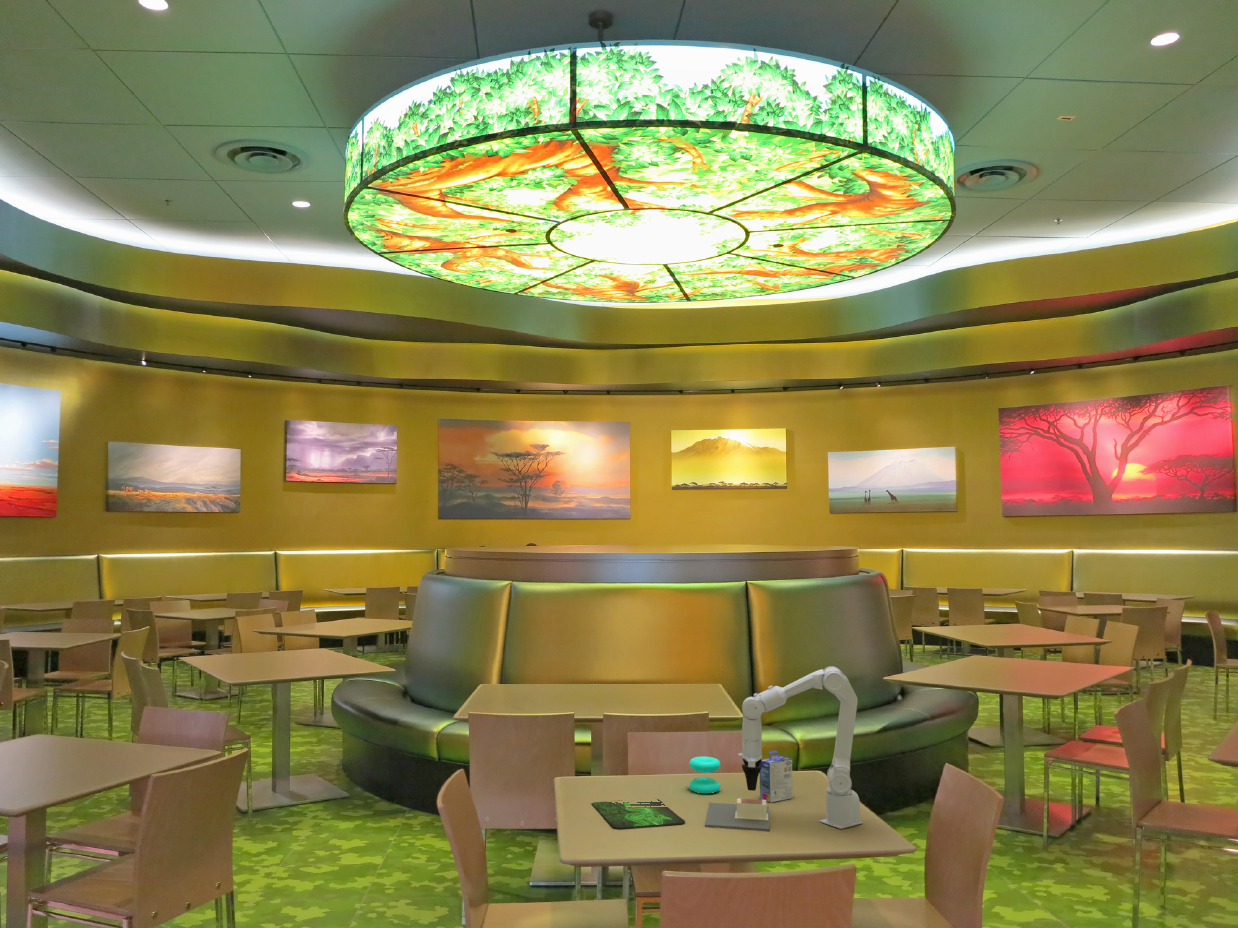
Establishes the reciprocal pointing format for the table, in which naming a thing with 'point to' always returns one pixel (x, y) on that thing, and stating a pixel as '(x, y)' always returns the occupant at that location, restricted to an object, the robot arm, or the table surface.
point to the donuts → (705, 767)
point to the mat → (733, 818)
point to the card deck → (751, 808)
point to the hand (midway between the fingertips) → (751, 786)
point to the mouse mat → (636, 815)
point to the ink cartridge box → (776, 778)
